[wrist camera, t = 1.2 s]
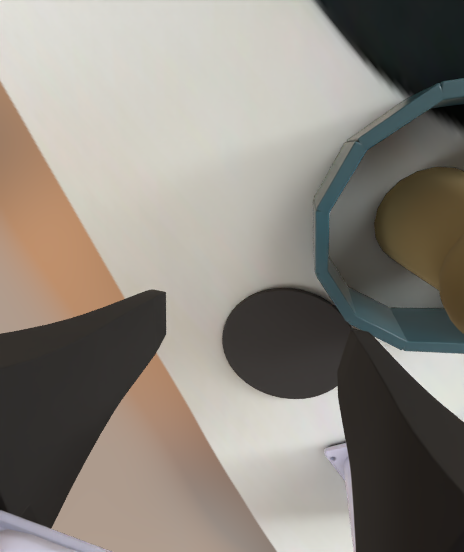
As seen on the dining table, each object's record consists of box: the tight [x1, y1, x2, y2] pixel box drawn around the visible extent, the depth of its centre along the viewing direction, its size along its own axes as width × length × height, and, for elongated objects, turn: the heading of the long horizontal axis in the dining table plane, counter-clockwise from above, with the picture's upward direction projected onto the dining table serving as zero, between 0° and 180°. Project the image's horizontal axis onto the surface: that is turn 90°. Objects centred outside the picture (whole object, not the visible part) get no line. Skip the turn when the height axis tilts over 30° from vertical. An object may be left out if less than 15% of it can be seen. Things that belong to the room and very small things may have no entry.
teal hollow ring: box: [313, 78, 464, 354], centre depth 16 cm, size 13×13×4 cm
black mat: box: [222, 288, 351, 399], centre depth 23 cm, size 10×10×1 cm
